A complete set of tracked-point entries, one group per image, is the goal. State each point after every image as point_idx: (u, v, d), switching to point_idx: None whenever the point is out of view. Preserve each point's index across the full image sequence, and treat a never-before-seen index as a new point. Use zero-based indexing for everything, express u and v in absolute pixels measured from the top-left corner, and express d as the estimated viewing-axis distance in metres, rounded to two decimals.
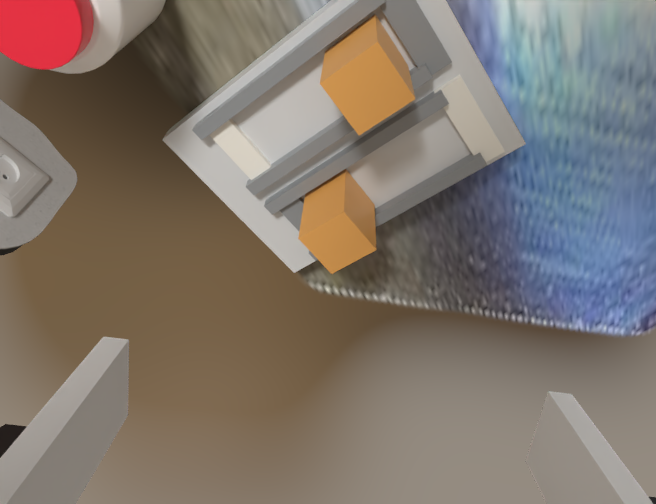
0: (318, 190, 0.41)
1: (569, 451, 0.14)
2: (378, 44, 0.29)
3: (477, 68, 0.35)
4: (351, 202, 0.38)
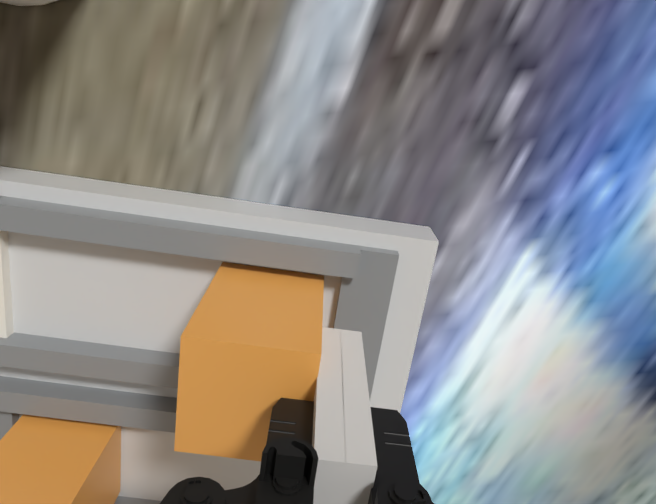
0: (53, 422, 0.22)
1: None
2: (318, 358, 0.15)
3: None
4: (82, 502, 0.19)
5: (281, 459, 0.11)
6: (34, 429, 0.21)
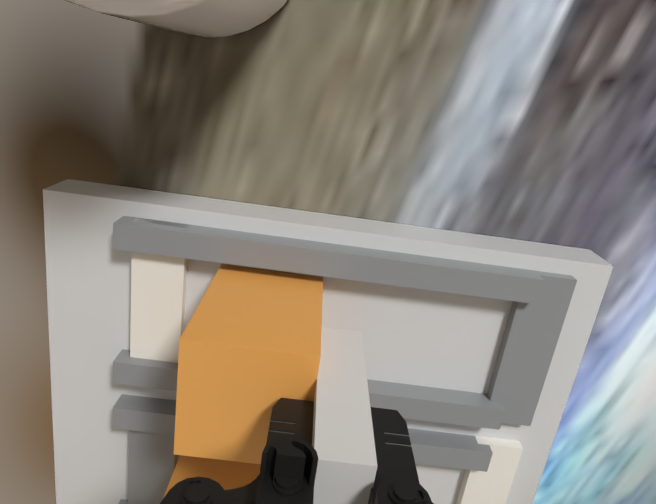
0: None
1: None
2: (317, 361, 0.15)
3: (542, 450, 0.23)
4: None
5: (281, 459, 0.11)
6: None
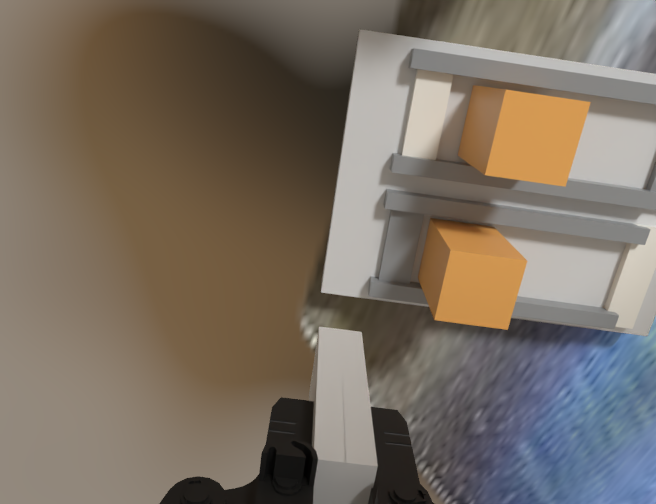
0: (455, 224, 0.32)
1: None
2: (588, 105, 0.24)
3: None
4: None
5: (281, 459, 0.11)
6: (448, 225, 0.31)
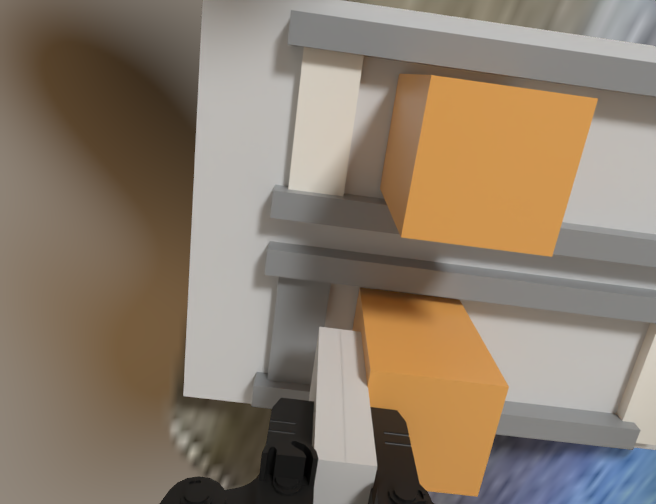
0: (396, 299, 0.20)
1: None
2: (593, 105, 0.12)
3: None
4: None
5: (281, 459, 0.11)
6: (385, 303, 0.19)
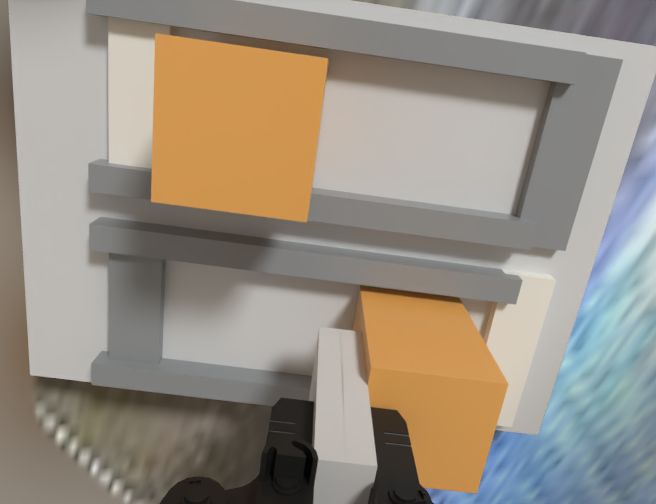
0: (397, 297, 0.20)
1: None
2: (324, 65, 0.12)
3: (577, 287, 0.21)
4: None
5: (281, 459, 0.11)
6: (385, 301, 0.19)
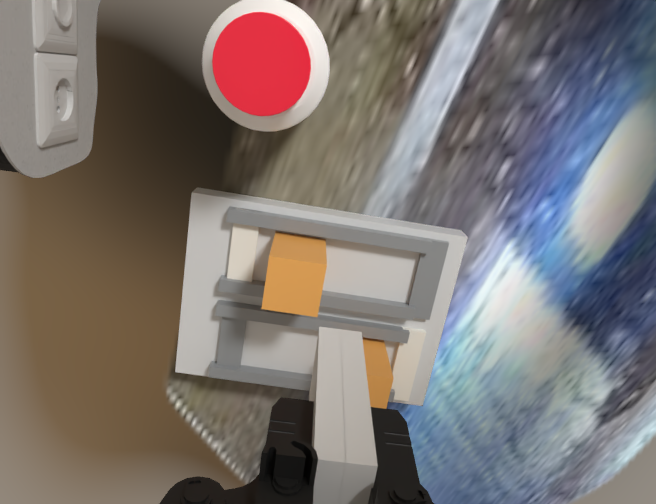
0: None
1: None
2: (325, 266, 0.36)
3: (437, 335, 0.44)
4: None
5: (281, 459, 0.11)
6: None
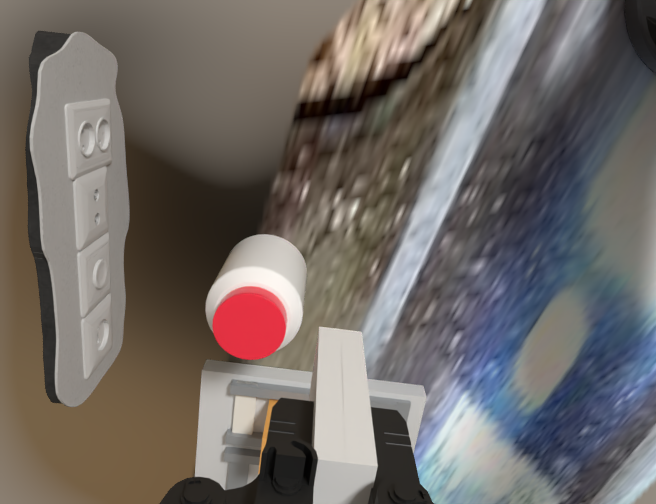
0: None
1: None
2: None
3: None
4: None
5: (281, 459, 0.11)
6: None
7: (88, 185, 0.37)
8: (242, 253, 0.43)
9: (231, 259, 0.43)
